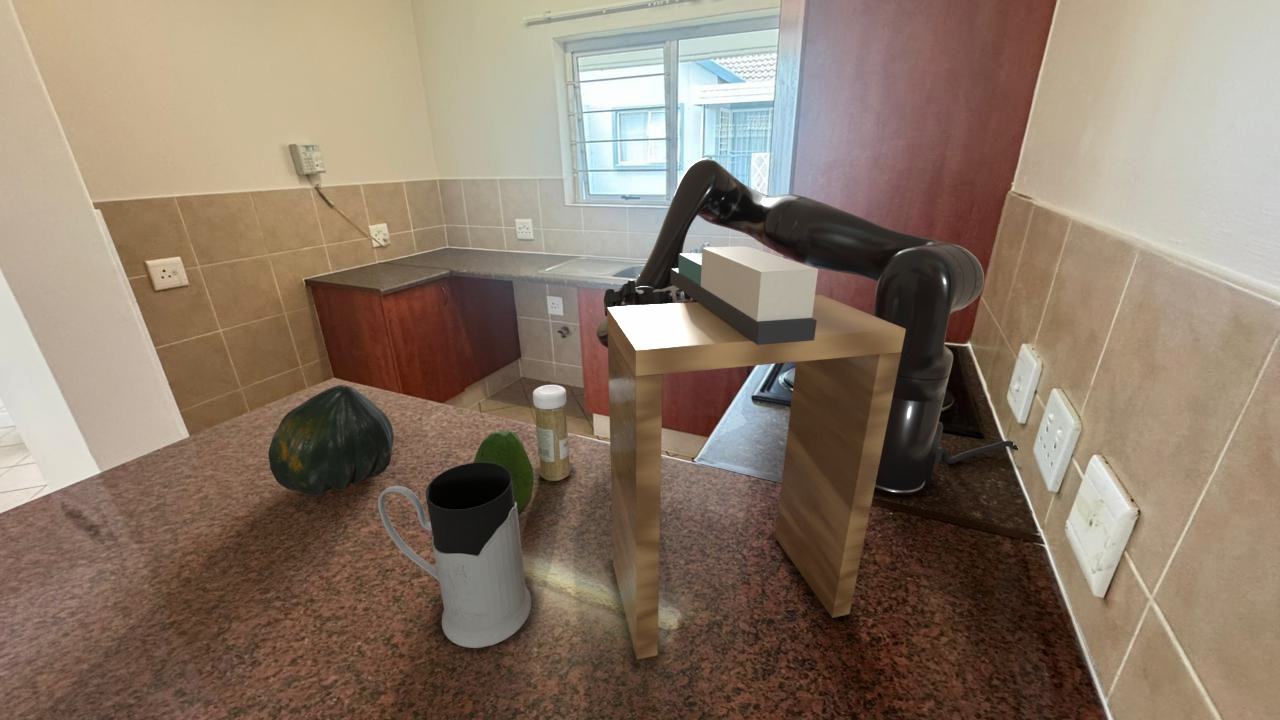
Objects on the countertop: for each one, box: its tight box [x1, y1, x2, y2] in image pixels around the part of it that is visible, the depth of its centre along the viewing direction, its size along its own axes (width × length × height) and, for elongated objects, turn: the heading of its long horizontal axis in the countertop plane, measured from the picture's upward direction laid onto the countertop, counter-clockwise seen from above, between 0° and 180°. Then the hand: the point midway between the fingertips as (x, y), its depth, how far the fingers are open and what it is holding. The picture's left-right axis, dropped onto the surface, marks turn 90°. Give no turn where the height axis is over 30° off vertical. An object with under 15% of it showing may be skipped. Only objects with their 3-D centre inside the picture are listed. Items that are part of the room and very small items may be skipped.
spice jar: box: [532, 384, 572, 482], centre depth 71 cm, size 5×5×13 cm
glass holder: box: [377, 462, 533, 649], centre depth 49 cm, size 9×14×15 cm, turn 80°
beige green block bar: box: [670, 245, 819, 345], centre depth 45 cm, size 5×22×5 cm, turn 13°
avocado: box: [472, 429, 535, 516], centre depth 63 cm, size 8×8×12 cm
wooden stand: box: [607, 294, 906, 660], centre depth 48 cm, size 22×12×30 cm, turn 103°
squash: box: [268, 384, 395, 497], centre depth 70 cm, size 14×15×15 cm
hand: (664, 285), depth 67 cm, fingers open, 8 cm apart
